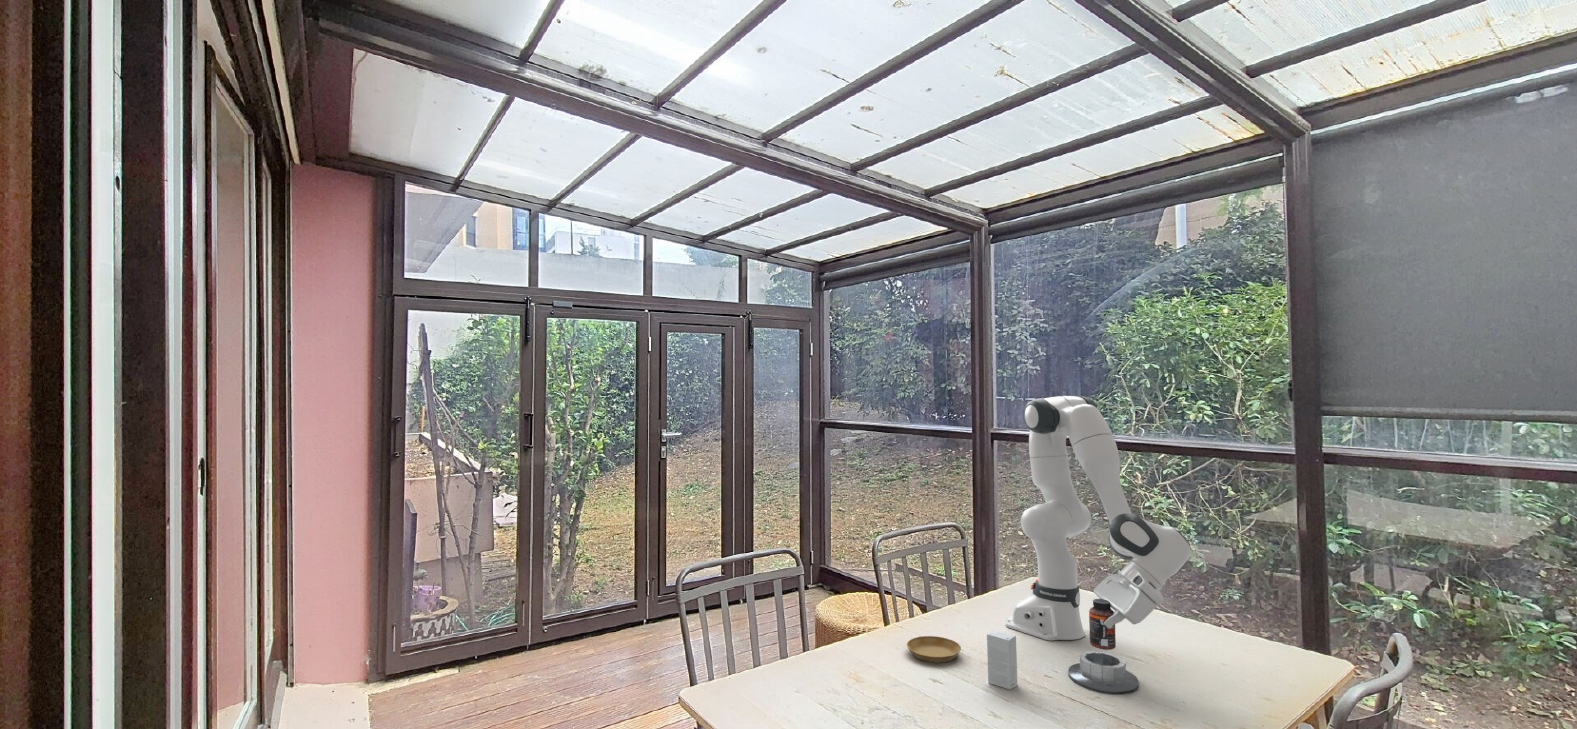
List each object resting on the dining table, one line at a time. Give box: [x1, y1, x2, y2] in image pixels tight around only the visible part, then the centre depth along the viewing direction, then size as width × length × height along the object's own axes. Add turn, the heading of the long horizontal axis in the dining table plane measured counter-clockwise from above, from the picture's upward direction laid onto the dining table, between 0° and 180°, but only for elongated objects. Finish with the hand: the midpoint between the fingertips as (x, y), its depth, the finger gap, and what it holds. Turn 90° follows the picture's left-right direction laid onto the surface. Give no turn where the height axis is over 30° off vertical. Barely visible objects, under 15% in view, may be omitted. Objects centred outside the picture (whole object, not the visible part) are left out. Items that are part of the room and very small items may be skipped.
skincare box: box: [986, 630, 1018, 690], centre depth 162 cm, size 6×4×12 cm
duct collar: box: [1067, 650, 1140, 695], centre depth 164 cm, size 16×16×5 cm
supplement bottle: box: [1088, 598, 1117, 651], centre depth 164 cm, size 6×6×11 cm
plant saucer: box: [906, 635, 962, 664], centre depth 180 cm, size 15×15×3 cm
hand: (1099, 620), depth 165 cm, fingers closed on supplement bottle, 6 cm apart
